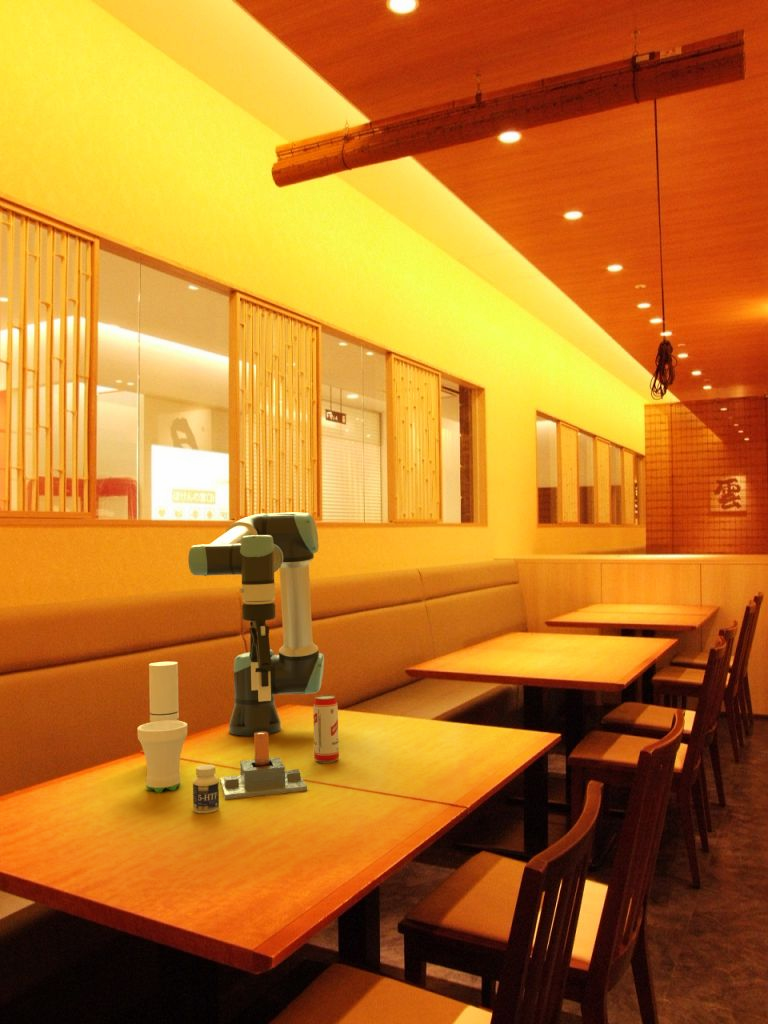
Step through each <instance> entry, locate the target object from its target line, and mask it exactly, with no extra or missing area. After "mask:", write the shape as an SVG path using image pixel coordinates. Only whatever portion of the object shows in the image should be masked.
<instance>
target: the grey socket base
mask: <svg viewBox="0 0 768 1024" xmlns="http://www.w3.org/2000/svg"><path fill="white" fill-rule="evenodd" d="M239 763H240V764H239V765H240V768H239V769H240V775H228V776H223V777H219V784H220V786H222V787H221V789H222V792H223V797H224V800H234V799H242V798H251V797H260V796H270V795H278V794H279V795H280V794H288V793H296V792H297V793H299V792H306V791H308V785H307V783H306V782H305V780H304V779H303V778H302V775H301V772H300V770H299V769H289V770H288V769H287V770H286V767H285V765H284V763H283V762H282V760H281V758H280V757H279V756H278V757H271V758H270V757H269V766H264V767H255V759H248V760H240V762H239Z"/></svg>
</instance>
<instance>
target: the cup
mask: <svg viewBox="0 0 768 1024" xmlns="http://www.w3.org/2000/svg"><path fill="white" fill-rule="evenodd" d="M186 737H188V723H187V722H185V721H182V720H179V721H157V722H151V723H150V722H147V723H143V724H141V725H139V726H138V727H137V739H138V741H139V742H140V744H141V747H142V750H143V754H144V757H145V762H146V771H147V772H146V773H147V774H146V778H145V783H146V785H145V787H146V790H147V791H148V790H149V792H151V790H152V791H155V793H157V794H158V793H159V794H160V793H162V792H163V791H164V789H167V790H168V791H172V792H173V791H175V790H176V789H177V788H178V787H180V786H181V781H182V780H181V777H182V776H181V772H180V763H181V762H180V761H181V760H180V759H181V754H182V749H183V746H184V743H185V739H186Z"/></svg>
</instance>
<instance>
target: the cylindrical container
mask: <svg viewBox="0 0 768 1024" xmlns="http://www.w3.org/2000/svg"><path fill="white" fill-rule="evenodd" d="M178 663H179V662H178V661H159V662H151V663H149V664H148V676H149V677H148V678H149V680H148V681H149V682H148V685H149V686H148V687H149V723H151V722H157V721H180V720H179V719H180V718H179V716H180V715H179V710H180V709H179V672H178V671H179V669H178V668H179V666H178V665H179V664H178Z"/></svg>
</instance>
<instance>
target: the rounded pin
mask: <svg viewBox="0 0 768 1024" xmlns="http://www.w3.org/2000/svg"><path fill="white" fill-rule="evenodd" d="M253 742H254V760H255V767H264V766H269V758H270V750H269V749H270V746H269V745H270V743H269V742H270V741H269V734H268V732H256V733H254V736H253Z"/></svg>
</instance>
